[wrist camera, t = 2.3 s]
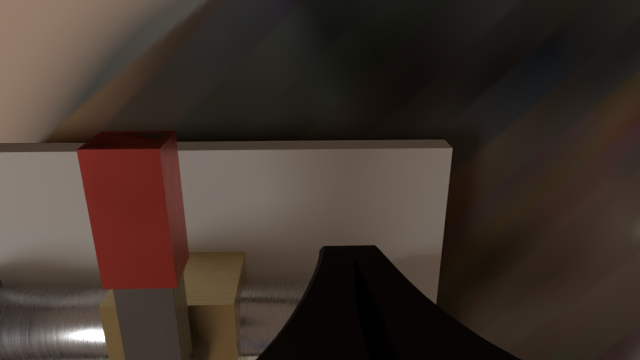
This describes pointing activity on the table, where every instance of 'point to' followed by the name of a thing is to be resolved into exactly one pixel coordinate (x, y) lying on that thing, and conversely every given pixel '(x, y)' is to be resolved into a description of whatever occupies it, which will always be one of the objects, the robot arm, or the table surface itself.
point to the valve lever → (140, 238)
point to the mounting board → (241, 207)
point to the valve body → (103, 327)
